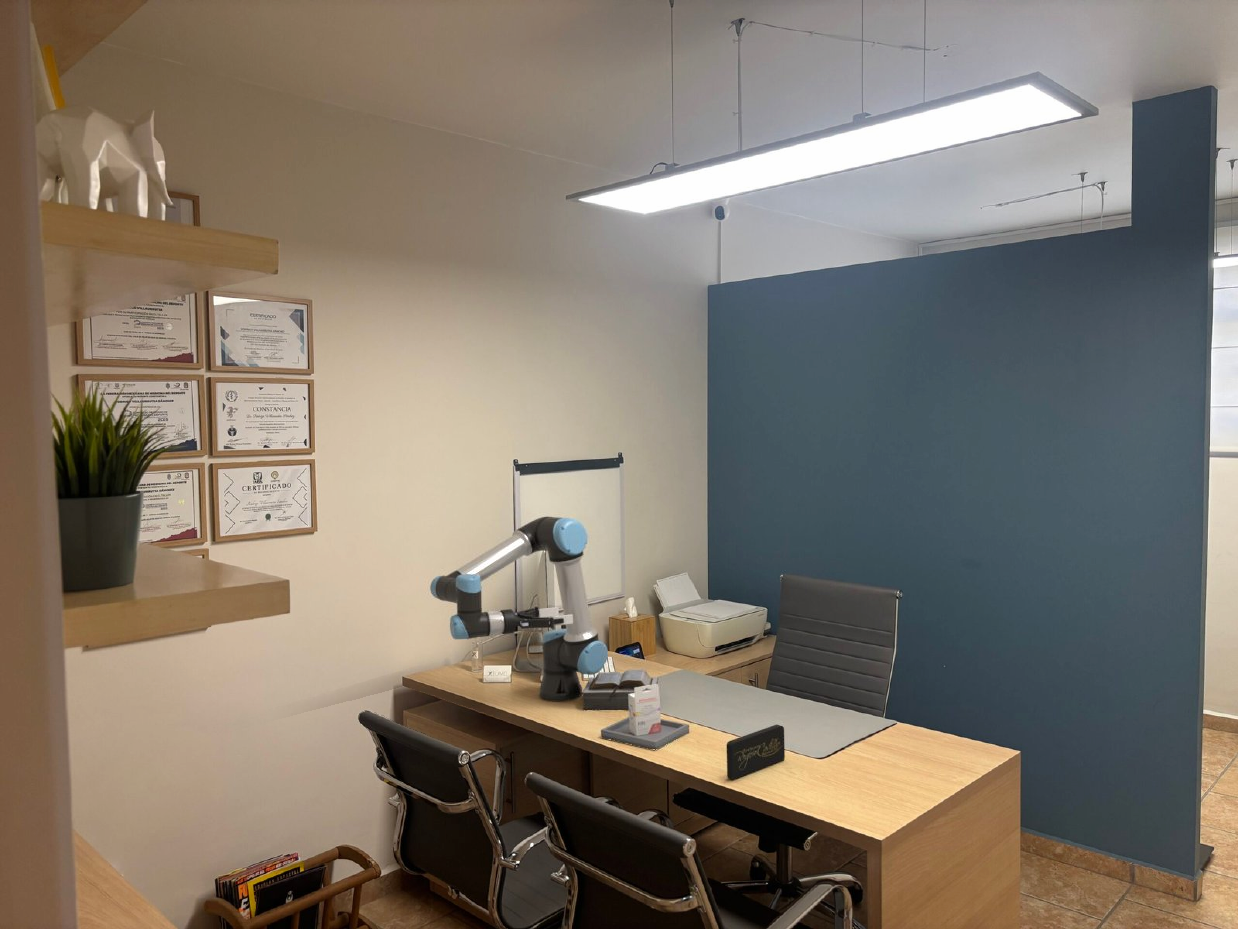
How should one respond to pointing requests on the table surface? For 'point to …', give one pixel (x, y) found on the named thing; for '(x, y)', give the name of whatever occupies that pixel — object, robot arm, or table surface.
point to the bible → (614, 689)
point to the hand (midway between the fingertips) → (565, 615)
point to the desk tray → (650, 741)
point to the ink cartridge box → (644, 710)
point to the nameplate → (755, 752)
